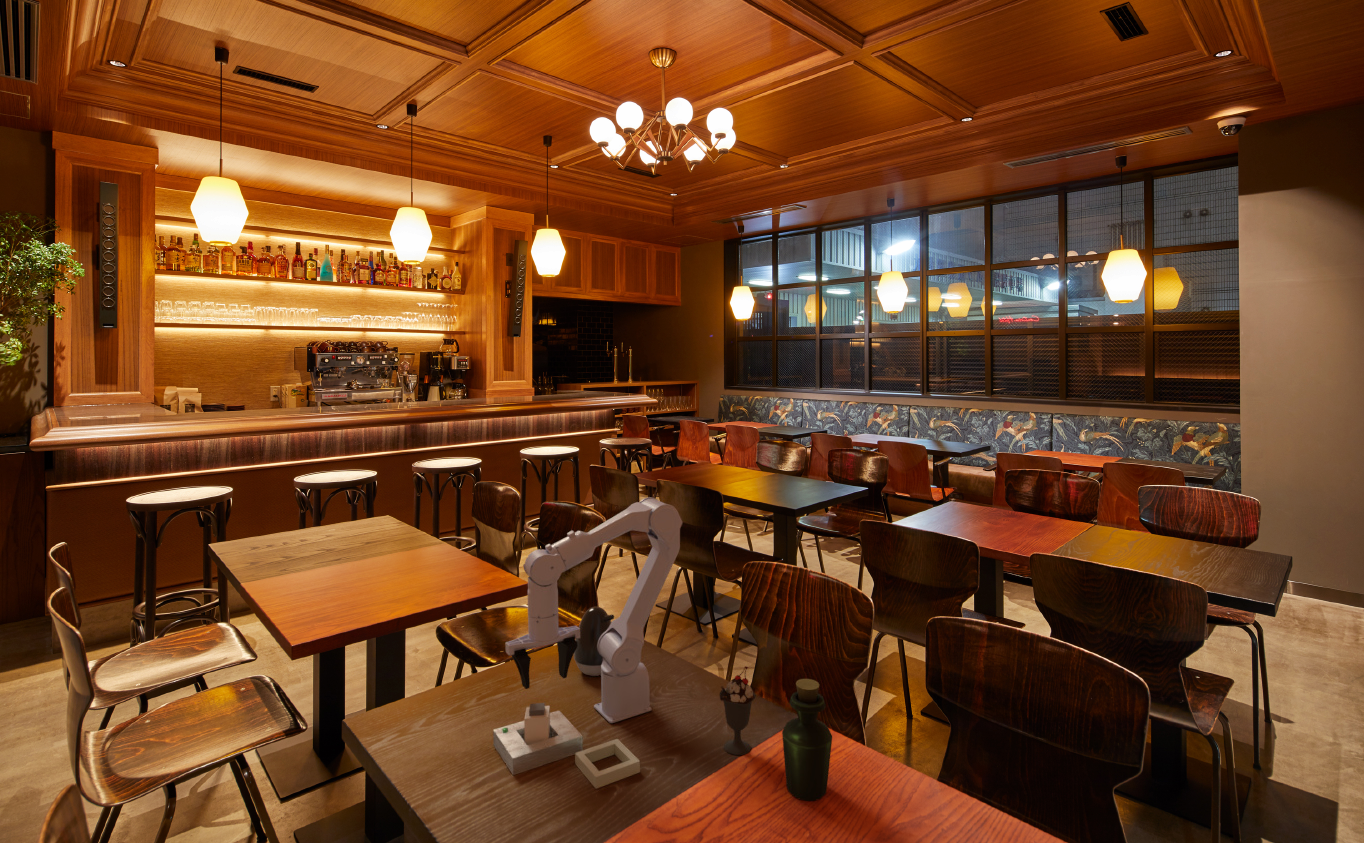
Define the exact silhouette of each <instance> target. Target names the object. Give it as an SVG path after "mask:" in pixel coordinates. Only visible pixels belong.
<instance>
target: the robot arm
mask: <svg viewBox="0 0 1364 843" xmlns="http://www.w3.org/2000/svg"><path fill="white" fill-rule="evenodd" d="M682 526H683V520H682V518H681V516H680V514H679V512H678V510H677V508H676V507H675V506H674V505H672V504H668V503H665V502H663V501H660V500H658V499H657V498H656V497H650V496H648V497H644V498H642V499H641V500H640V501H639V502H638V501H637V502H634V503H632V504H630V505H629V506H627V508H626V509H624V510H622V511H620V512H619V513H617V514H615V515H614V516H613V517H611V518H609V519H607V520H606V521H604V522H603V523H601V524H599V525H597V526H596V527H594V528H592V529H591V530H589V531H588V532H585V531H582V530H577V531H574V530H570V531H569V532H567V533H566V537H564V538H562V539H560V540H558V541H556V542H554V543H552V544H551V543H548V544H546V545H545V546H544V547H545V549H539V548H538V549H535V550H533V551H531V552H530V553H529V554H528V555H527V557H526V558H525V561H524V564H523V565H522V566H523V570H524V572H525V574H526V575H527V576H528V577H527V620H528V621H527V622H528V624H527V626H528V628H527V629H528V632H527V633H526V634H524V635H522V636H520V637H517V638H515V639H513V640H509V641H506V642H505V643H504V645H505V653H506V654H507V655H508V656H511V658H512V660H513V661H514V664H515V665H516V668H517V670H518V673H519V677H520V680H521V686H522V687H524V689H525V690H527V689H530V686H531V685H530V684H531V682H530V681H531V680H530V679H531V678H530V666H531V658H532V657H530V655H529V654H528V651H527V650H531V649H535V648H540V647H542V646H549V645H553V644H555V643H556V644H557V646H556V647H557V652H558V653H557V654H558V674H559V676H560V677H561V678H562V679H567V677H568V672H569V669H570V664H571V661H572V660H573V659H572V658H573V657H574V652H575V650H576V649H577V646H578V642H577V641H575V640H576V639H578V638H580V628H579V626H577V625H572V626H566V627H560V625H559V590H558V580H559V579H560V577H561V575H562V573H565V572H566V571H568V570H570V569H572V568H573V567H575V566H577V565H579V564H580V563H582V562H585V561H586V560H588V559H589V558H591V557H593V554H594V552H595V550H596V548H597V547H599V546H601V545H603V544H605V543H608V542H609V541H612V540H614V539H616V538H618V537H620V536H622V535H624V534H626V533H628V532H630V531H633V532H635V531H637V532H641V533H642V532H643V533H646V534H647V537H648V539H649V542H650V545H651V549H650V552H649V554H648V556H647V558H646V560H645V562H644V564H643V566H642V569H641V570H640V573H639V575H638V578H637V579H636V581H635V584H634V585H633V588H632V590H631V591H630V594H629V596H628V598H627V601H626V602H625V605H624V607H623V609H622V612H621V613H620V616H619V617H617V618H614V619H613V620H611V624H610V626H609V628H608V629H607V630H606V631H605V632H604V633H603V634H602V635H601V636H600V638H599V640H598V644H597V648H598V652H599V653H600V655H601V656H602V657H603V662H602V665H601V675H600V676H601V677H600V680H601V684H600V685H601V686H600V687H601V689H600V690H601V694H600V695H601V702H599V703H598V702H597V703H596V704H594V705H593V708H594V709H595V710H596V711H597V712H598V713H599V714H600V715H601V716H602V717H604V719H605V721H608V723H609V724H613V723H617V722H620V721H625V720H626V719H629V718H632V717H635V716H639V715H642V714H645V713H648V712H651V711H652V707H651V706H650V677H649V672H648V668H647V667H646V666H645V664H644V662H641V658H642V649H643V646H644V644H645V638H644V628H645V625H646V624H647V621H648V619H649V617H650V615H651V612H652V611H653V608H654V606H655V604H656V601H657V600H658V597H659V595H660V594H661V591H662V588H663V587H664V586H665V583H666V580H667V578H668V576H669V574H670V571H671V570H672V567H673V566H674V563H675V561H676V558H677V556H678V554H679V553H680V552H679V551H680V549H681V544H680V543H681V527H682Z"/></svg>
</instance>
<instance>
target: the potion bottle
mask: <svg viewBox="0 0 1364 843" xmlns="http://www.w3.org/2000/svg"><path fill="white" fill-rule="evenodd" d="M795 686H796V690H797V691H795V692H793V693H792V695H791V697H790V700H789V706H790V707H791V708H792V709H793V710H795V711H796V714H797V717H795V718H792V719H790V720H788V721H787V722H786V723H785V725H784V727H783V729H782V732H781V733H782V746H783V748H782V749H783V760H784V769H785V783H786V789H787V791H788V792H789V793H790V794H791V795H792V796H793V797H795V798H796V799H798V800H801V801H805V802H809V801H810V802H813V801H817V800H821V799H822V797H823V796H825V795H826V794H827V791H828V790H827V789H828V782H829V773H830V772H829V770H830V763H831V753H832V752H831V751H832V743H833V735H832V732H831V730H830V729H829V726H828V725H826V724H825V723H824V722H823V721H820V720H819V719H818V715H819V713H821V712H823V711H824V710H825V709H826V707H827V706H826V702H825V699H824V697H823V696H822V695H821V693H819V689H820V682H818V681H816V680H815V679H810V678H800V679H798V680H796V682H795Z"/></svg>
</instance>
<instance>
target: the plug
mask: <svg viewBox="0 0 1364 843" xmlns="http://www.w3.org/2000/svg"><path fill="white" fill-rule="evenodd" d="M550 708H551V706H550V705H546V702H536V703H530V704H529V706H526V708H525V714H524V719H523V721H524V728H525V743H526V744H527V745H530V744H533V743H537V742H540V741H543V740H546V739H549V738H550V713H551V711H550Z"/></svg>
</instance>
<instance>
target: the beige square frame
mask: <svg viewBox="0 0 1364 843" xmlns="http://www.w3.org/2000/svg"><path fill="white" fill-rule="evenodd" d="M612 756H616V758H617V759H618V760H619V761H620V763H618V764H616V765H613V766H610V767H608V768H604V769H601V770H599V769H598V768H597V767H596V766H595V765H594V764H593V763H594V762H597V761H600V760H602V759H605V758H608V757H612ZM574 762H575V763H574V764H575V766H576V767H577V768H578V769H579V771H581V773H582V774H583V775H584V776H585V778H586V779H587V780H588V781H589V782H590V784H591V785H592V786H593V787H594V789H595V790H596V789H599V788H602V787H604V786H607V785H610V784H612V783H615V782H618V781H620V780H623V779H626V778H629V777H630V776H634V775H636V774H639V773H641V761H640V759H639V758H638V757H637V756H635V755H634V754H633V752H632V751H631V750H629V749H628V747H626V746H625V744H623V743H622V742H621V741H620V739H618V738H616V739H612V740H609V741H606V742H604V743H601V744H598V745H595V746H592V747H589V748H587V749H586V748H585V749H583V751H580V752H577V753H575V754H574Z"/></svg>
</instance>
